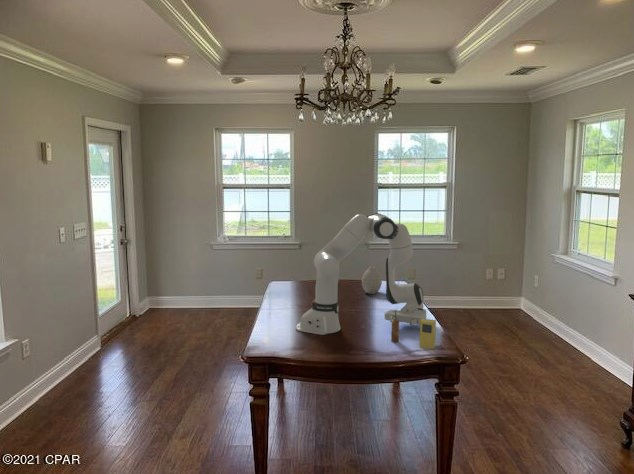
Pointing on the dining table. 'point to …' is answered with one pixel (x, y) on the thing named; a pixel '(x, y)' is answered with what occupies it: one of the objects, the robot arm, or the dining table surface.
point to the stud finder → (427, 333)
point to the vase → (371, 280)
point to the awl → (395, 330)
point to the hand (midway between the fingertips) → (401, 322)
